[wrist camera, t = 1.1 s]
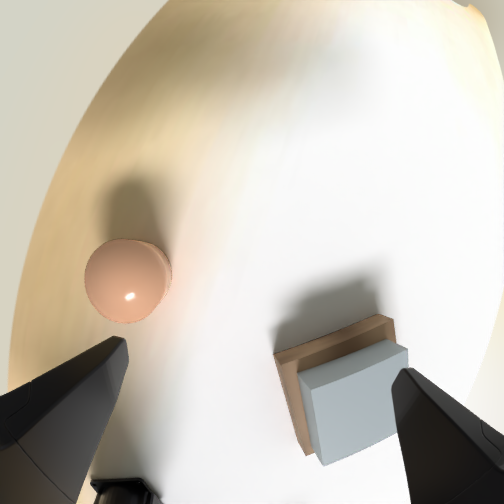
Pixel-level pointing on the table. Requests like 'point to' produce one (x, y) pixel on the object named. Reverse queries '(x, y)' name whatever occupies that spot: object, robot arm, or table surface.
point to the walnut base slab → (322, 353)
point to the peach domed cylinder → (127, 279)
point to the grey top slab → (351, 400)
